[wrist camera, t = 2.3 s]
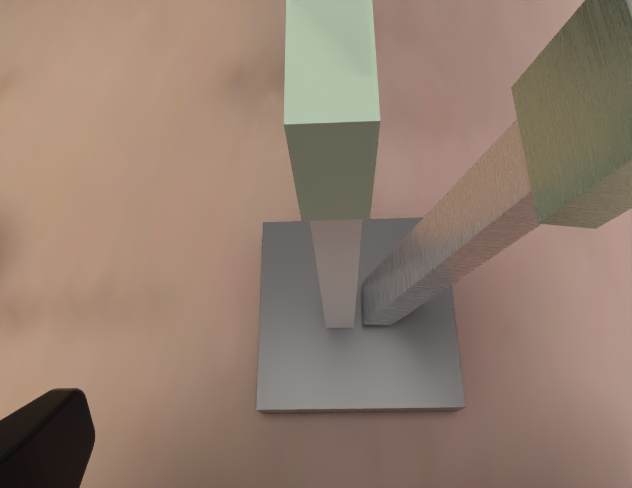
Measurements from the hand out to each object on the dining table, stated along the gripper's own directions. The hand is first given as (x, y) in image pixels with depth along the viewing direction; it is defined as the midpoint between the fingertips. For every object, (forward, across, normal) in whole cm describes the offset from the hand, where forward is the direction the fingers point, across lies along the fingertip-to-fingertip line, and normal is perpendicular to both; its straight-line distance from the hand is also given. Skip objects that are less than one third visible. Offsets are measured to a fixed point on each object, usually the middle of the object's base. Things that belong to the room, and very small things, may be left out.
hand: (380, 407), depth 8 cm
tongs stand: (+11, 0, +5) cm, 12 cm away
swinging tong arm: (+10, 0, +4) cm, 11 cm away
